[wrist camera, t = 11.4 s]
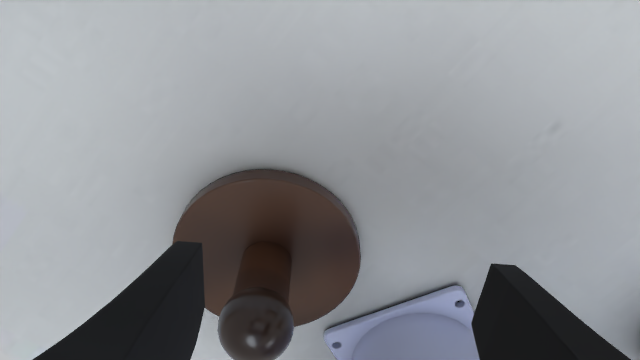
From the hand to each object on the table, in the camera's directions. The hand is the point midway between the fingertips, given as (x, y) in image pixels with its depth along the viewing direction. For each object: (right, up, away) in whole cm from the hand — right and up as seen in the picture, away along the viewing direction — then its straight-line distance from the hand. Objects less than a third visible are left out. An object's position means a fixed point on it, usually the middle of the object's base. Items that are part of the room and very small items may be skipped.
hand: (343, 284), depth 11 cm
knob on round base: (-3, -1, +11) cm, 12 cm away
